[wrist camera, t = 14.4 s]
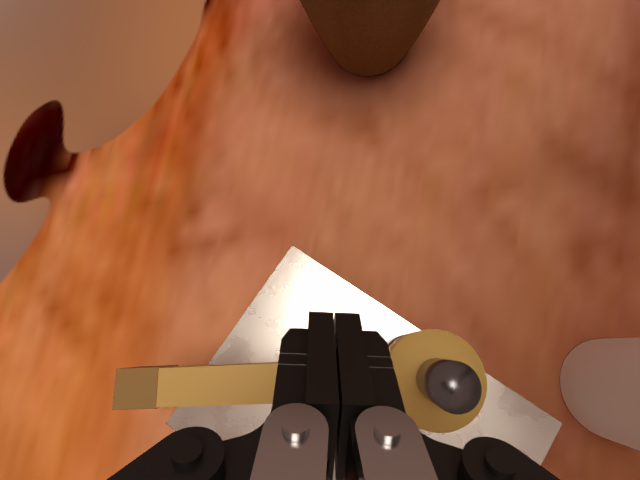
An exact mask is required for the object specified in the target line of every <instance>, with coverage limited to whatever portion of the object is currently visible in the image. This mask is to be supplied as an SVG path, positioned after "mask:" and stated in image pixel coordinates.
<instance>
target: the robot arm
mask: <svg viewBox="0 0 640 480" xmlns="http://www.w3.org/2000/svg"><path fill="white" fill-rule="evenodd" d="M393 367H394V366H393V362H392V359H391V355H390V351H389V347H388V344H387V342H386V341H385V339H384V338H383V337H382V336H381V335H380V334H379V333H378V332H377V331H363V329H362V324H361V318H360V314H359V313H339V312H335V314H334V317H333V312H310V311H309V320H308V329H305V328H290V329H289V330H288V331H287V332H286V334H285V335H284V336H283V337H282V339H281V345H280V354H279V360H278V367H277V374H276V381H275V388H274V396H273V403H272V409H271V412H270V414H269V415H268V416H267V418H266V420H265V422H264V423H263V424H262V425H261V426H260V427H258V428H257V429H255V430H254V431H252V432H250V433H248V434H245V435H242V436H239V437H235V438H231V439H227V440H224V441H223V440H222V439H221V437H220V436H219V435H218V434H217V433H216V432H215V431H213V430H211V429H209V428H205V427H198V426H195V427H187V428H183V429H180V430H178V431H175V432H173V433H172V434H170V435H168V436H167V437H165V438H164V439H163V440H161V441H160V442H158V443H157V444H156V445H154V446H153V447H152V448H150V449H149V450H147V451H146V452H145V453H143V454H142V455H140V456H139V457H138V458H136V459H135V460H133V461H132V462H131V463H129V464H128V465H126V466H125V467H124V468H122V469H121V470H119V471H118V472H117V473H115V474H114V475H113V476H111V477H110V478H108V479H107V480H333V471H334V460H335V479H336V480H560V479H558V478H557V477H556V476H554V475H553V474H551V473H550V472H549V471H547V470H546V469H545V468H543V467H542V466H540V465H539V464H538V463H536V462H535V461H533V460H532V459H531V458H529V457H528V456H527V455H525V454H524V453H522V452H521V451H520V450H518V449H517V448H515V447H514V446H512V445H511V444H509V443H507V442H505V441H502V440H500V439H497V438H493V437H476V438H473V439H471V440H470V441H468V442H467V443H466V445H465V446H464V448H463V449H461V448H458V447H454V446H451V445H448V444H445V443H442V442H439V441H436V440H434V439H432V438H430V437H428V436H426V435H425V434H423V433H422V432H420V430H419V428H418V426H417V425H416V423H415V422H414V421H413V419H412V418H411V417H409V416H408V415H407V414H406V411H405V408H404V404H403V400H402V396H401V393H400V389H399V385H398V381H397V377H396V374H395V370H394V368H393Z"/></svg>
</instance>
